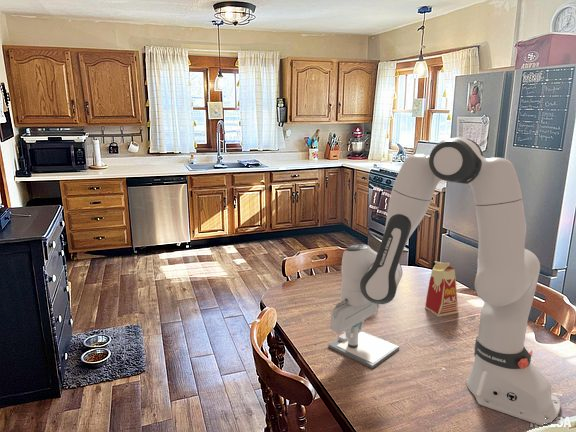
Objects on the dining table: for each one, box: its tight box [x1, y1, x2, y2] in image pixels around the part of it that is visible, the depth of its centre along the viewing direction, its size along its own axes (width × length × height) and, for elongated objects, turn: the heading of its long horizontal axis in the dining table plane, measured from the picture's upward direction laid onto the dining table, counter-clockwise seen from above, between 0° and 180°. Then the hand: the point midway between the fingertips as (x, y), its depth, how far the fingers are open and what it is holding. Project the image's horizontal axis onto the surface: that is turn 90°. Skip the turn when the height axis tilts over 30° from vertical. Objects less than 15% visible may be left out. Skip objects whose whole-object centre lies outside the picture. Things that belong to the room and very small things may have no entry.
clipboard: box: [328, 330, 400, 369], centre depth 139 cm, size 17×15×2 cm
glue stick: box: [348, 323, 359, 348], centre depth 138 cm, size 3×3×8 cm
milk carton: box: [424, 260, 459, 318], centre depth 163 cm, size 9×9×20 cm
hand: (353, 334), depth 138 cm, fingers closed on glue stick, 3 cm apart
